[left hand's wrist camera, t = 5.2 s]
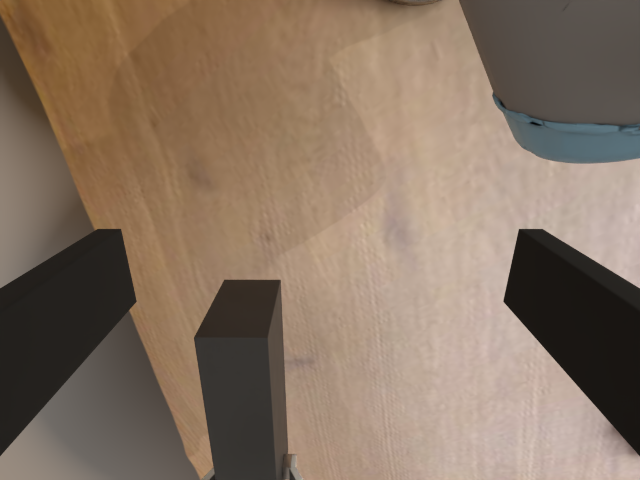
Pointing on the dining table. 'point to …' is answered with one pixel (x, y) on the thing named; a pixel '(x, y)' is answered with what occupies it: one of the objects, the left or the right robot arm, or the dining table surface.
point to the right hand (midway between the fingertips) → (258, 457)
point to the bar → (244, 380)
